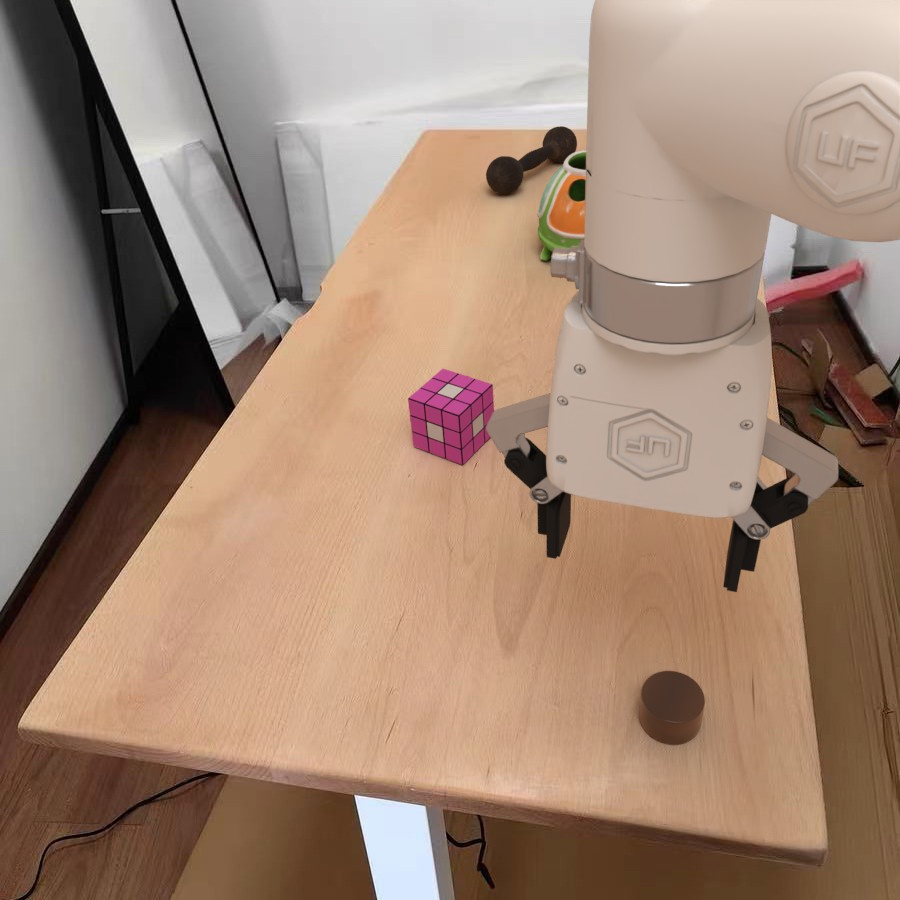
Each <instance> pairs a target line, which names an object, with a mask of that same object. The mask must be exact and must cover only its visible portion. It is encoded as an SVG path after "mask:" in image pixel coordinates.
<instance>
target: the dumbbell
mask: <svg viewBox="0 0 900 900" xmlns="http://www.w3.org/2000/svg"><path fill="white" fill-rule="evenodd" d="M577 147H578V141H577V136H576V134H575V133H574V131H573V130H572V129H571V128H568V127H567V126H561V125H560V126H555V127H552V128H550V129H549V130H548V131H547V132H546V133H545V135H544V137H543V141H542V147H538V148H536V149H533V150H531V151H528V152H527V153H526V154H524V155H523V156H522V157H521V158H520V159H517V158H514V156H513V157H512V156H508V155H507V156H506V155H501V156H498V157H496V158H494V159H493V160H492V161H490V163H489V164H488V165H487V166H488V167H487V168H486V172H485V179H486V182H487V183H486V184H487V185H488V187H489V188H490V189H491V190H492V191H493V192H495V193H496V194H499V195H509V194H512V193H514V192H516V191H517V190H518V189H519V188H520V187H521V186H522V183H523V181H524V176H525V175H524V174H525V173H526V172H529V171H531V170H534V169H536V168H538V167H539V166H541V165H542V164H544V163H545V162H546V161H547V160H549V161H550V162H553V163H557V164H558V163H564V161H565V160H566V158H567V157H568V156H569V155H571V154H572V153H574V152H577Z"/></svg>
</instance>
